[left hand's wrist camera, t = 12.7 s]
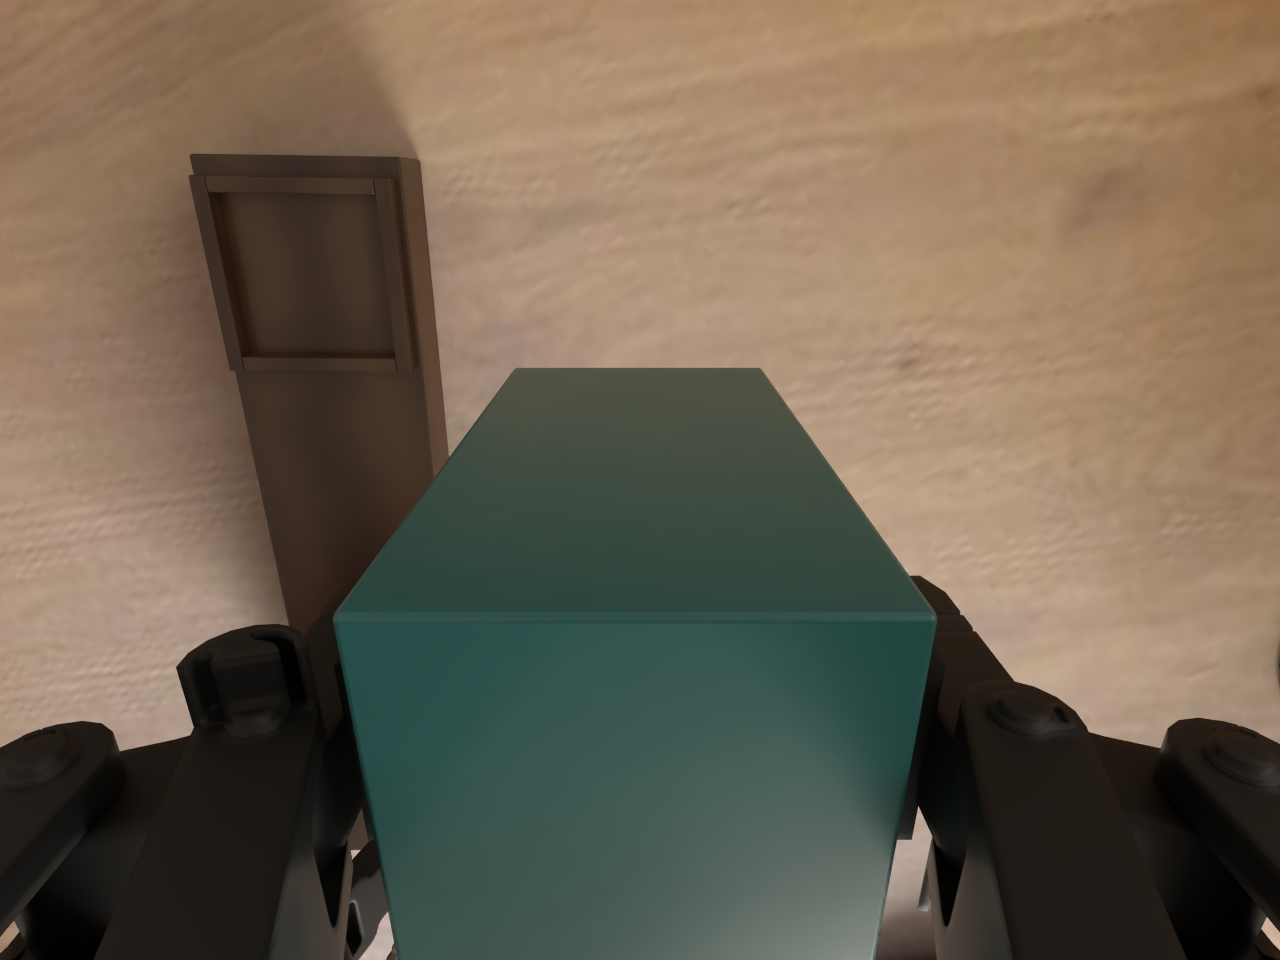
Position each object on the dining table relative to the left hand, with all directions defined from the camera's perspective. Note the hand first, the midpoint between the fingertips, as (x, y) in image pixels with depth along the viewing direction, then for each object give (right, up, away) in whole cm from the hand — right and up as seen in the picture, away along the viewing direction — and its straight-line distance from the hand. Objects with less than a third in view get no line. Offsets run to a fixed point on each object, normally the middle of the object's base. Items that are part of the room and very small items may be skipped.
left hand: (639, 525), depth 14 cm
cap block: (0, +1, +2) cm, 2 cm away
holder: (-14, +1, +21) cm, 25 cm away
